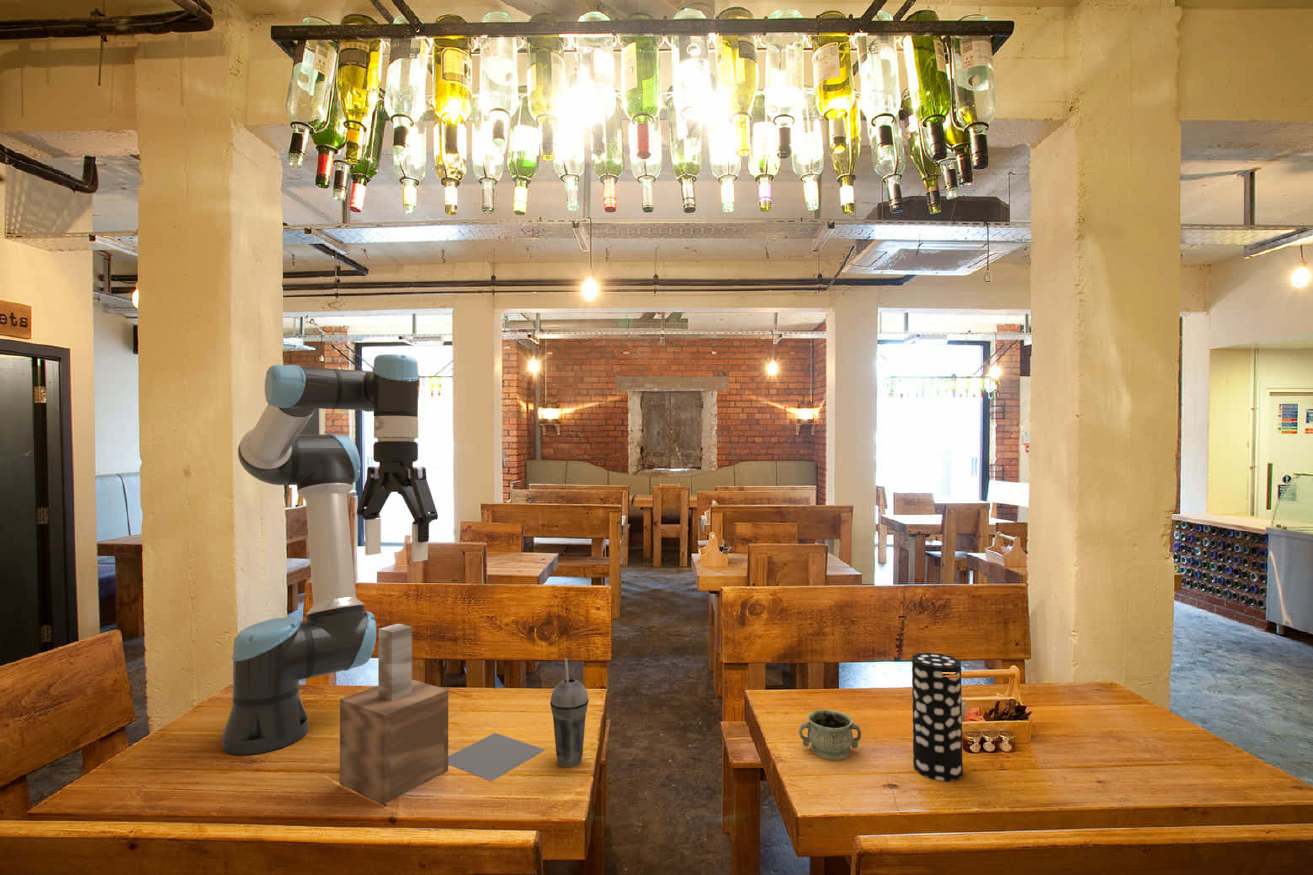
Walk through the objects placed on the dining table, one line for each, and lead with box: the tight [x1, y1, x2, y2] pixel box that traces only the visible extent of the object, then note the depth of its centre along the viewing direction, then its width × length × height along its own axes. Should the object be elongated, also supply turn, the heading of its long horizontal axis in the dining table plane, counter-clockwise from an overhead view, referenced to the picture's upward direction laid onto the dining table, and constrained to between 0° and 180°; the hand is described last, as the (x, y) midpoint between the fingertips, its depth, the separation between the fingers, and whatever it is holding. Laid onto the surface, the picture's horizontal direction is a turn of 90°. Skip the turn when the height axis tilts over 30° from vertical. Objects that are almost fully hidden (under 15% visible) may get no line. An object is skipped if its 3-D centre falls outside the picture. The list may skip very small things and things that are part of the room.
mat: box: [448, 732, 546, 782], centre depth 123 cm, size 14×14×1 cm
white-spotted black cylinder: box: [911, 652, 964, 782], centre depth 117 cm, size 8×8×20 cm
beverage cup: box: [549, 657, 590, 768], centre depth 120 cm, size 7×7×20 cm
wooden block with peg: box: [339, 623, 449, 807], centre depth 115 cm, size 13×13×27 cm
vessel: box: [798, 709, 862, 761], centre depth 125 cm, size 12×9×6 cm
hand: (395, 557), depth 116 cm, fingers open, 13 cm apart
